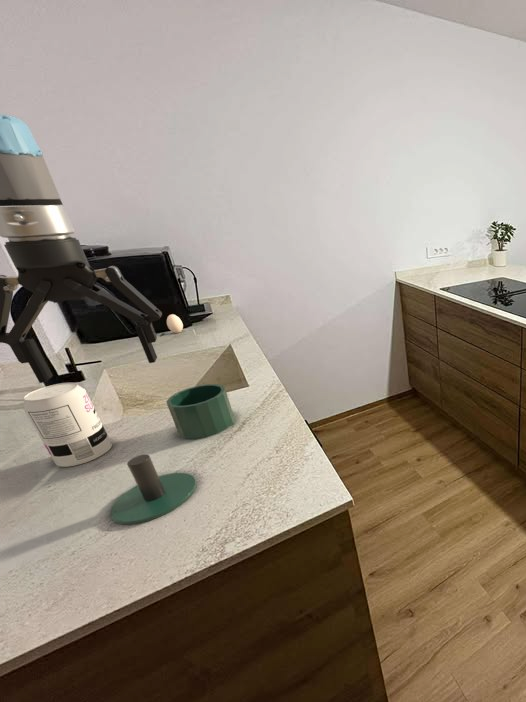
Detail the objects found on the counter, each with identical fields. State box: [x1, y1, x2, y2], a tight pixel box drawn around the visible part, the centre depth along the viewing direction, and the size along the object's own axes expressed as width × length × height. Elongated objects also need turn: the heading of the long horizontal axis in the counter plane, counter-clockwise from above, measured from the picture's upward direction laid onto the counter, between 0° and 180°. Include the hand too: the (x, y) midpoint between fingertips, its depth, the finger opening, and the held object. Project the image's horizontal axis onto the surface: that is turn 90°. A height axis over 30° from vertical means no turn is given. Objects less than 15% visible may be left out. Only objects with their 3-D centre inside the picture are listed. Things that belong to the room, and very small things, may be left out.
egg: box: [166, 313, 184, 334], centre depth 145 cm, size 5×5×7 cm
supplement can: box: [22, 382, 113, 468], centre depth 73 cm, size 8×8×15 cm
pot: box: [166, 383, 236, 440], centre depth 83 cm, size 10×10×8 cm
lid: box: [109, 454, 197, 525], centre depth 63 cm, size 11×11×9 cm
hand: (102, 369), depth 63 cm, fingers open, 13 cm apart
